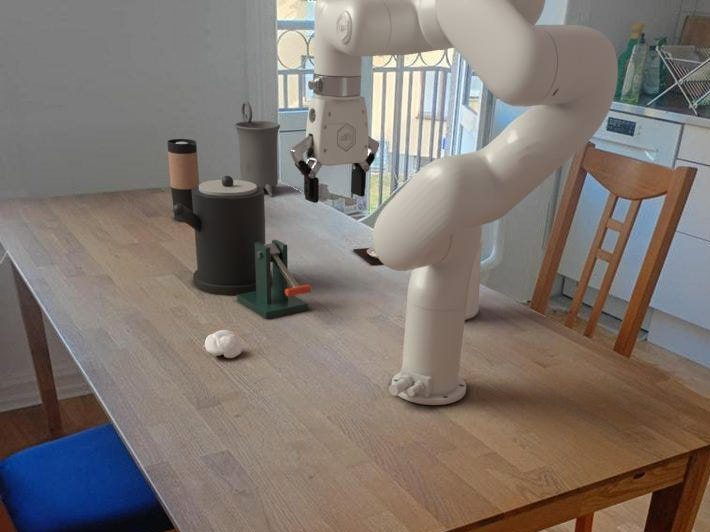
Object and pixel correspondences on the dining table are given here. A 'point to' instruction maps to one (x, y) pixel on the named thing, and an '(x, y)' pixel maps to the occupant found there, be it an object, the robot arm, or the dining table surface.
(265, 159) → the grey canister
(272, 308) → the switch bracket
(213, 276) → the kettle
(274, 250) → the switch lever
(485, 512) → the dining table surface
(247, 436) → the dining table surface
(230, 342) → the dumpling
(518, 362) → the dining table surface
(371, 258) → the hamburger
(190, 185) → the travel mug
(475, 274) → the coffeepot
